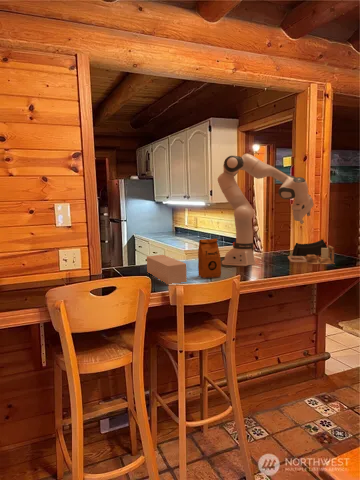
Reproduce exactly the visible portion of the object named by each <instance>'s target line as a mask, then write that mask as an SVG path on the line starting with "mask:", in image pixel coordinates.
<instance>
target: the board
mask: <svg viewBox="0 0 360 480" xmlns="http://www.w3.org/2000/svg"><path fill="white" fill-rule="evenodd" d="M328 251H329V248H328V247H327V248H321V254H320V257H321V258H328Z"/></svg>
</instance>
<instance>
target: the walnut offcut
mask: <svg viewBox="0 0 360 480" xmlns="http://www.w3.org/2000/svg"><path fill="white" fill-rule="evenodd" d="M305 259H306V260H307V262H306V263H307V264H308V263H317V260H318V257H317V258H313V259H309V258H307V256H305Z"/></svg>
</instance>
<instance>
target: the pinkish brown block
mask: <svg viewBox="0 0 360 480" xmlns="http://www.w3.org/2000/svg"><path fill="white" fill-rule="evenodd" d="M146 270H147V271H146V273H147V272H148V273H150V274H152V275H153V276H155V277H157V278H158V279H160V280H161V281H160V280H159V281H160V282H162V281H163V282H165V283H166V284H165V283H164V284H165V285H167V284H172V283H181V282H187V283H188V280H187V279H188V278H187V274H188V272H187V263H185V262H183V261H180V260H178V259H176V258H173V257H170V256H167V255H165V254H158V255H148V256H146ZM148 273H147V274H148ZM153 276H152V277H153ZM155 277H154V278H155ZM158 279H157V280H158ZM163 282H162V283H163Z"/></svg>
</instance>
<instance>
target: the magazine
mask: <svg viewBox="0 0 360 480" xmlns="http://www.w3.org/2000/svg"><path fill="white" fill-rule="evenodd" d="M321 248H328V245H327V244H326V241H325V240H324V239H320V240H318V241H316V242H311V243H298V242H295V244H294V247H293V250H292V255H291V256H303V257H307V255H316V256H318V255H321Z"/></svg>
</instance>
